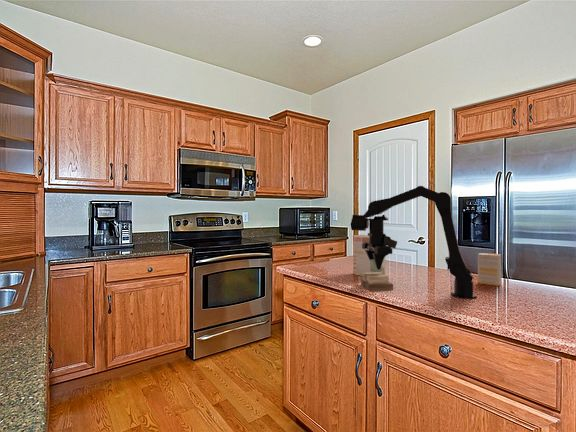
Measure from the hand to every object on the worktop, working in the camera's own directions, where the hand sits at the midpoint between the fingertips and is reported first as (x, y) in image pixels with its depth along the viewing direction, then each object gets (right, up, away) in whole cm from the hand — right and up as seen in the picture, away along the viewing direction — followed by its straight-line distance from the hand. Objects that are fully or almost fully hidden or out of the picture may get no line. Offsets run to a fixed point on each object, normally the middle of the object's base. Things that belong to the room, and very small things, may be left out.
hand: (376, 268), depth 140 cm
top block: (0, -6, 0) cm, 6 cm away
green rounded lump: (0, -1, 0) cm, 1 cm away
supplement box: (+50, -8, +4) cm, 51 cm away
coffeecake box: (+2, -7, +23) cm, 24 cm away
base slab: (0, -9, 0) cm, 9 cm away
